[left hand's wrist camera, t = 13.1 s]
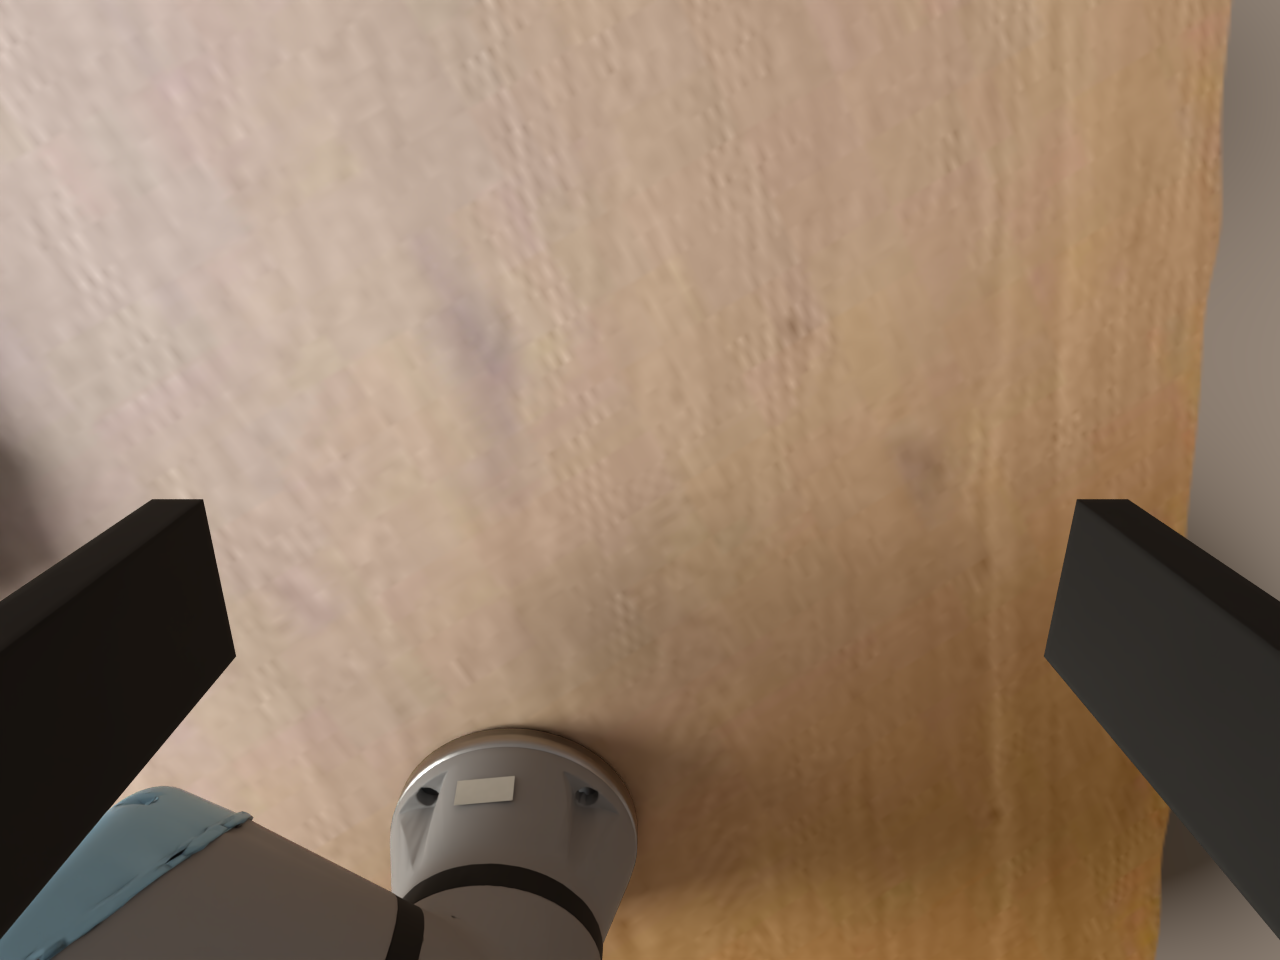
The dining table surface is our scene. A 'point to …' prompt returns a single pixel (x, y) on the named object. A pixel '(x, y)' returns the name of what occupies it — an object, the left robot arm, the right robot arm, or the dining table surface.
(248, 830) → the left robot arm
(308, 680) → the dining table surface
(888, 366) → the dining table surface
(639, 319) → the dining table surface
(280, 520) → the dining table surface
